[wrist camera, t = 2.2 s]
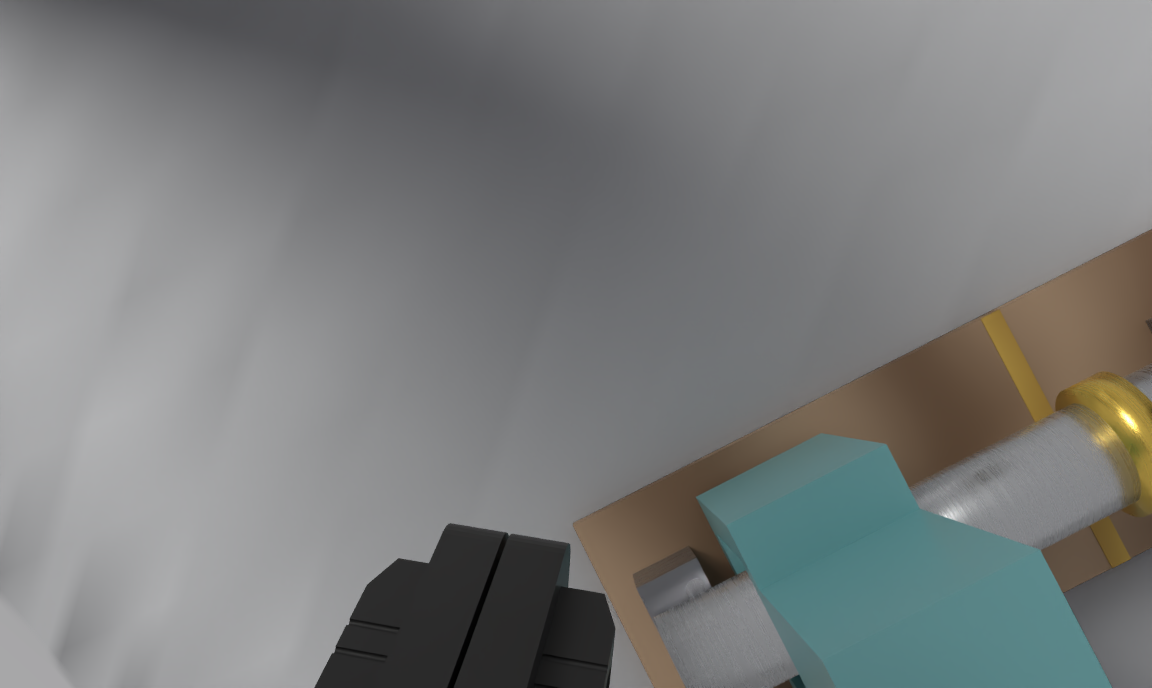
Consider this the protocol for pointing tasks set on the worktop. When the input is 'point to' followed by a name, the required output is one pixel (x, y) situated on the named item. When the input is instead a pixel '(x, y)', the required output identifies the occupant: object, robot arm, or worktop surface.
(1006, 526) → the pipe
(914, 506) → the sleeve
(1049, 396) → the board
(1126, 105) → the worktop surface
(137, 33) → the worktop surface
